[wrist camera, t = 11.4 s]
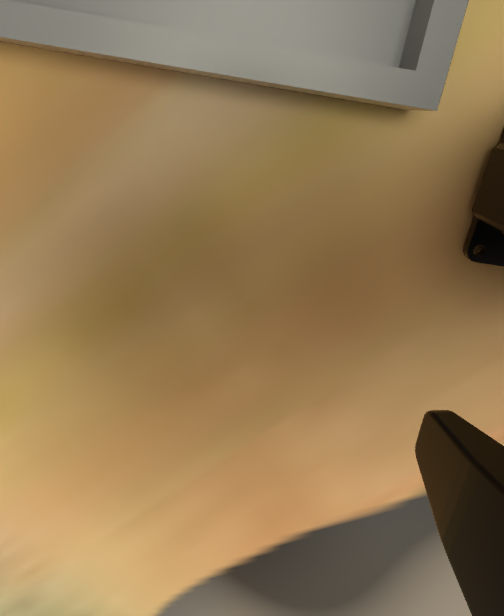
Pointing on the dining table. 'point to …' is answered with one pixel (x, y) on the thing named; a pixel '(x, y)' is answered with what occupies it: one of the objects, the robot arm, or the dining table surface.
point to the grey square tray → (262, 41)
